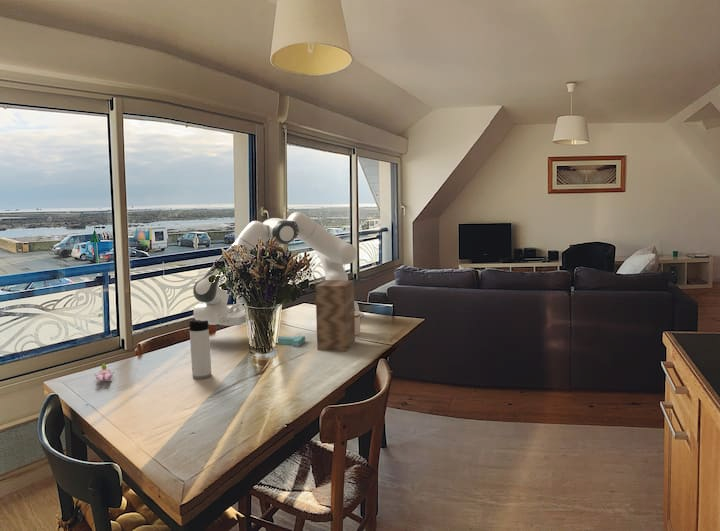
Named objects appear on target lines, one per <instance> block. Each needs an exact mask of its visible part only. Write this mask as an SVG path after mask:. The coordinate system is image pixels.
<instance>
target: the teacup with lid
mask: <svg viewBox="0 0 720 531" xmlns="http://www.w3.org/2000/svg"><path fill="white" fill-rule="evenodd" d="M359 312H360V311H359ZM359 312H356V311H355V310H354V318H355V336H358V335H360V334H361V317H360V313H359Z"/></svg>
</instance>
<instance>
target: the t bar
mask: <svg viewBox="0 0 720 531" xmlns="http://www.w3.org/2000/svg"><path fill="white" fill-rule="evenodd" d="M305 342H306V336H305V335H298V336H278V344H277V345H292V347H297V348H298V347H300V346H301V345H303V344H304V343H305Z"/></svg>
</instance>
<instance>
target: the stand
mask: <svg viewBox="0 0 720 531" xmlns="http://www.w3.org/2000/svg"><path fill="white" fill-rule="evenodd" d="M354 301H355V280H349V279H348V280H326V279H325V280H323V281H321V282H320V283H318V284H317V285H315V311H316V312H315V313H316V342H317V343H316V344H317V345H316V346H317V348H316V350H318V351H332V352H333V351H334V352H347V351H348V350H349V349H350V348H351V347H352V346H353V344H354V343H355V342H356V335H355V318H354Z"/></svg>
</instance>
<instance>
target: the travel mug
mask: <svg viewBox="0 0 720 531" xmlns="http://www.w3.org/2000/svg"><path fill="white" fill-rule="evenodd" d="M188 324H189V341H190V343H189V344H190V355H191V356H190V357H191V371H192V375H191V376H192V378H193V379H195V380H203V379H208V378H210V377H211V376H212V360H211V346H210V345H211V344H210V328H209V327H210V326H209V324H208V321H207V320H205V321H200V320H196V319H195V320H190V321H189V322H188Z"/></svg>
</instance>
